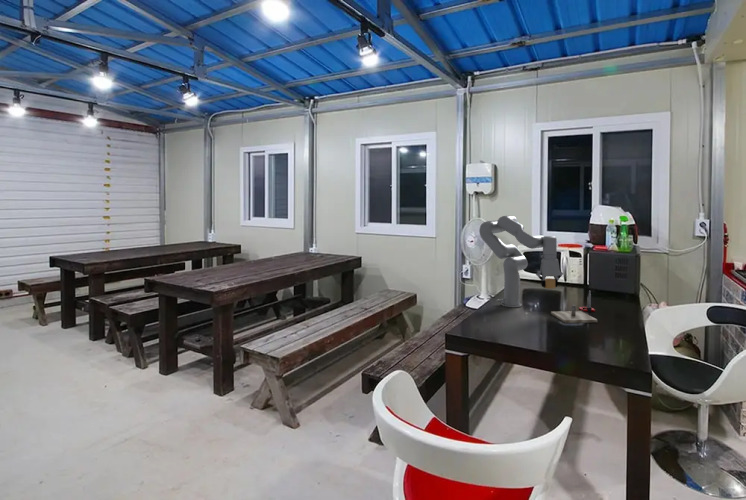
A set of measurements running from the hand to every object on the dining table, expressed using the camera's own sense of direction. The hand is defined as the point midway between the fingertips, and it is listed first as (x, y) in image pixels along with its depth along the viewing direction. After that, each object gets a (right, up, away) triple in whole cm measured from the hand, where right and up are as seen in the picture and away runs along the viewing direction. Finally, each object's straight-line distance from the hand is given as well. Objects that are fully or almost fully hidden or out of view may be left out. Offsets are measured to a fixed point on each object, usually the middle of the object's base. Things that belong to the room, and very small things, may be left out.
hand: (549, 286), depth 252 cm
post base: (+10, -17, -9) cm, 22 cm away
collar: (0, -1, 0) cm, 1 cm away
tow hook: (+27, -15, +9) cm, 32 cm away
